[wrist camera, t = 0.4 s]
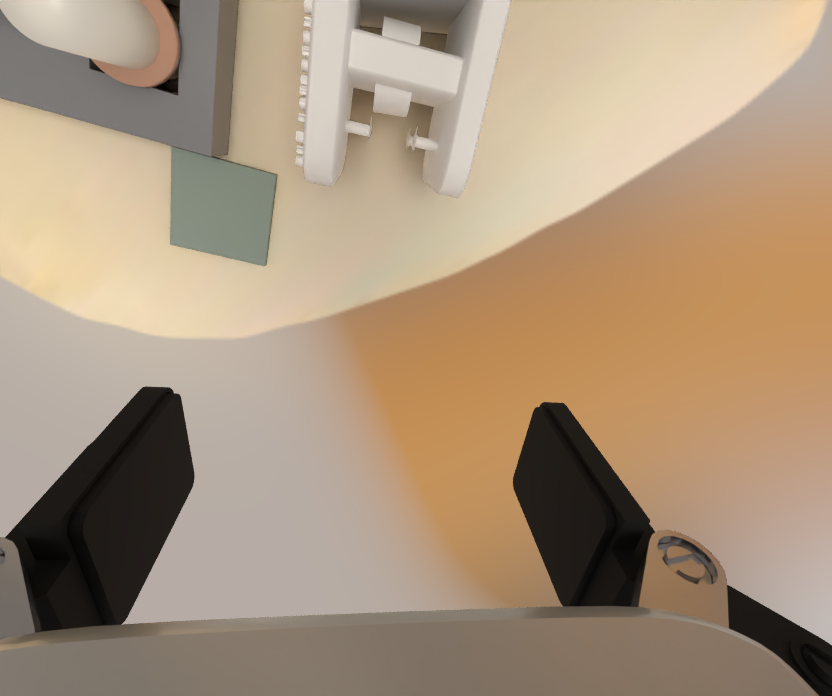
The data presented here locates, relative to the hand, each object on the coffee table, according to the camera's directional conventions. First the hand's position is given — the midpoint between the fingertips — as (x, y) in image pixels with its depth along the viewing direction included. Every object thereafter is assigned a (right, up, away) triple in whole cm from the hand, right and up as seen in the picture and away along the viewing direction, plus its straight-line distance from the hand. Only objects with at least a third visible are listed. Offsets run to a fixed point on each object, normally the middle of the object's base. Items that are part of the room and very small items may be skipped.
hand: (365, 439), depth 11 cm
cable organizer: (-1, +24, +21) cm, 31 cm away
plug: (-17, +25, +19) cm, 35 cm away
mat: (-15, +15, +24) cm, 32 cm away
